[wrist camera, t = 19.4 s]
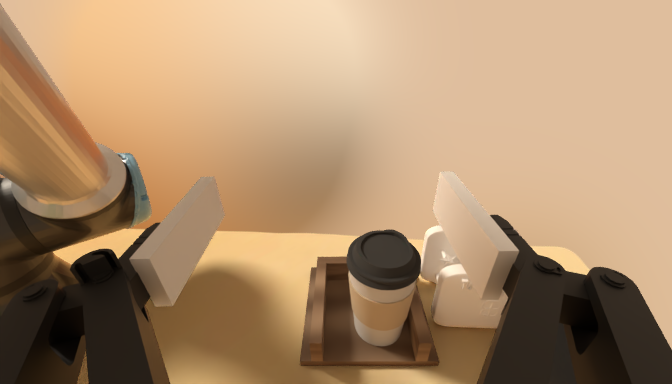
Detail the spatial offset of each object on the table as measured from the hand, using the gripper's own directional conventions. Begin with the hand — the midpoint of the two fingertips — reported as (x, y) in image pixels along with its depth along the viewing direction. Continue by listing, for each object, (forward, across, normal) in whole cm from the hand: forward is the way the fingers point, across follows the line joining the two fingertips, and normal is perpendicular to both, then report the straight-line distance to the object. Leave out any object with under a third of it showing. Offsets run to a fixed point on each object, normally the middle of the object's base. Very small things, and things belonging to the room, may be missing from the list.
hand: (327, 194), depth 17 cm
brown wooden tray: (+13, +4, -30) cm, 33 cm away
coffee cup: (+11, +6, -29) cm, 32 cm away
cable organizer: (+15, +22, -30) cm, 40 cm away
